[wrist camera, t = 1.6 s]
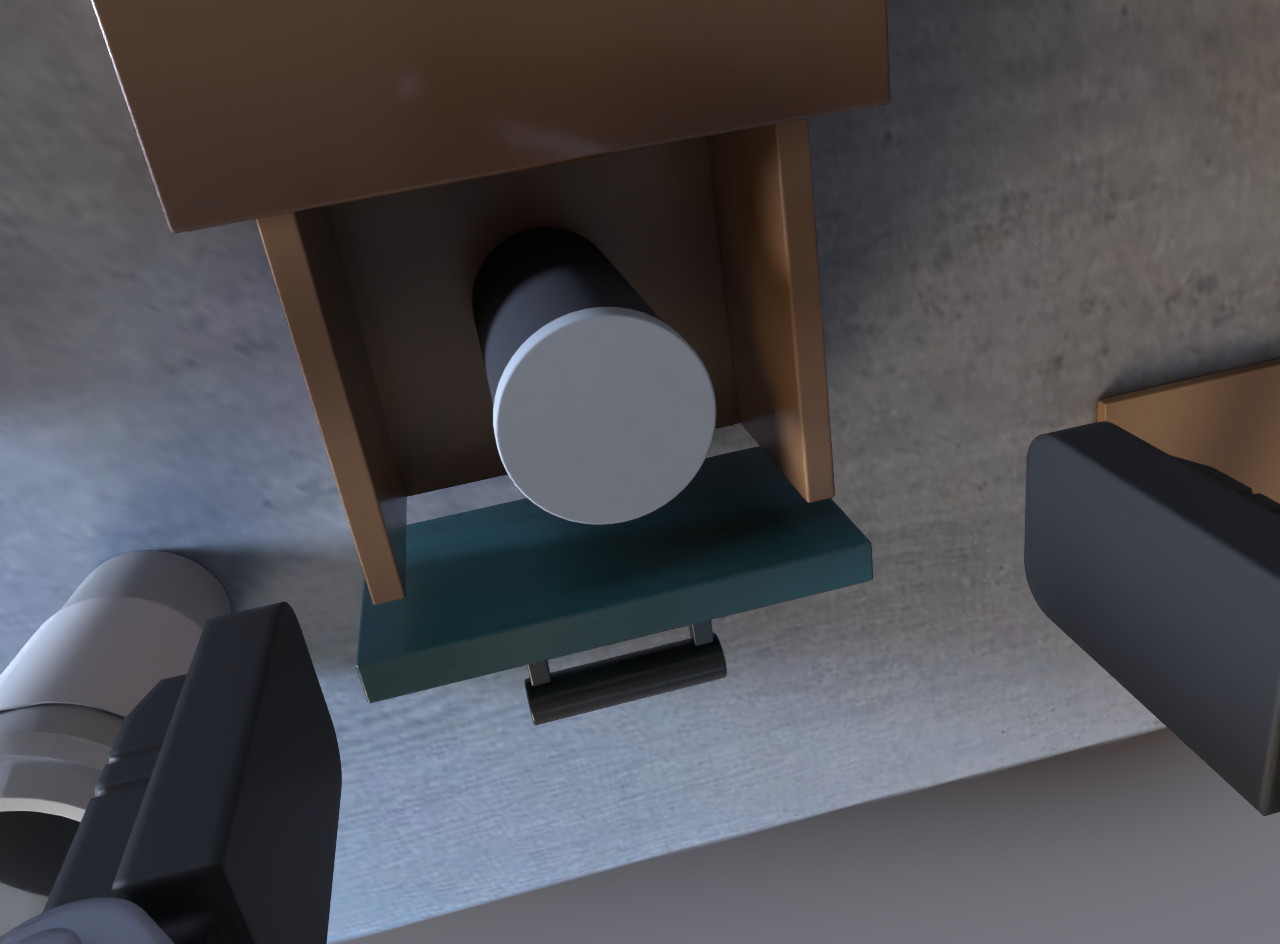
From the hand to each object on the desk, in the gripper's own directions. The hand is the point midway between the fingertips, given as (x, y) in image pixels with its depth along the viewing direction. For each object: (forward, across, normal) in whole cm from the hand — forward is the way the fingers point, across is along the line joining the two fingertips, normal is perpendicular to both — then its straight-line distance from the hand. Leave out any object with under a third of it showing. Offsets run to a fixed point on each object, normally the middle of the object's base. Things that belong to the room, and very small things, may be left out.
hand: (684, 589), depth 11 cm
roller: (+19, 0, +2) cm, 19 cm away
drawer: (+20, -1, +4) cm, 21 cm away
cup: (+21, +14, +10) cm, 27 cm away
